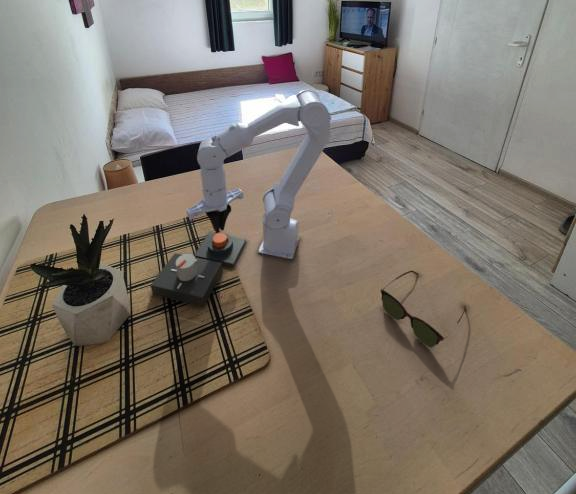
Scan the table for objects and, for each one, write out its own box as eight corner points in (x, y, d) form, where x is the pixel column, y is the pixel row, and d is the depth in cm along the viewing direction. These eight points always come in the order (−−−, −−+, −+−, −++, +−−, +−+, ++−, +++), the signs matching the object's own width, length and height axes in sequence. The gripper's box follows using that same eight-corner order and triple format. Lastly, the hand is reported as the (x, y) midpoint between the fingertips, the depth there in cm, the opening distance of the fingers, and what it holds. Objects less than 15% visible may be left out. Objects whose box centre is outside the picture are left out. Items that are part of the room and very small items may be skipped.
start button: (229, 239, 88) (228, 234, 87) (223, 249, 84) (223, 243, 84) (216, 237, 88) (216, 232, 88) (211, 246, 85) (210, 241, 84)
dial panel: (222, 271, 81) (221, 262, 80) (203, 307, 72) (202, 297, 71) (176, 261, 84) (174, 252, 82) (152, 294, 75) (150, 284, 74)
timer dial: (187, 263, 79) (185, 250, 78) (201, 270, 77) (199, 257, 76) (173, 276, 76) (171, 262, 74) (187, 284, 74) (185, 270, 72)
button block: (246, 242, 90) (245, 233, 89) (233, 267, 82) (232, 258, 81) (209, 235, 93) (208, 226, 91) (194, 258, 85) (192, 250, 83)
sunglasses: (376, 304, 73) (380, 287, 71) (411, 274, 82) (415, 258, 80) (438, 356, 63) (444, 338, 61) (470, 315, 72) (476, 298, 70)
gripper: (192, 204, 72) (198, 251, 78) (248, 182, 80) (250, 226, 86) (180, 189, 77) (187, 234, 83) (234, 170, 85) (237, 212, 91)
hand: (218, 229), depth 84 cm, fingers closed
